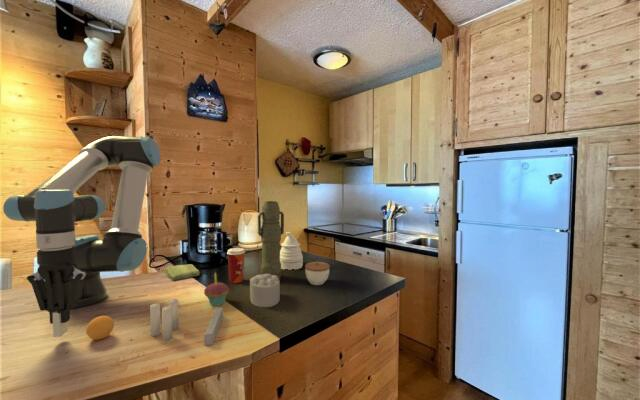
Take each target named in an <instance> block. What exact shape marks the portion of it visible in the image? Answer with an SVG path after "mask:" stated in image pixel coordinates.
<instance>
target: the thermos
mask: <svg viewBox="0 0 640 400" xmlns="http://www.w3.org/2000/svg"><path fill="white" fill-rule="evenodd" d="M261 210H262V211H261V212H259V213H258V215H257V234H258V235H259V237H260V241H261V264H260V274H271V275H276V276H277V277H278V279H279V281H280V280H281V278H282V276H281V274H282V269H281V262H280V250H281V240H282V235H284V234H285V233H284V232H285V213H284V212H283V211H281V209H280V205H279V202H278V201H275V200H273V201H271V200H270V201H267V200H266V201H265V202H263V205H262V209H261Z"/></svg>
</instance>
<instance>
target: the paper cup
mask: <svg viewBox="0 0 640 400" xmlns="http://www.w3.org/2000/svg"><path fill="white" fill-rule="evenodd" d="M245 253H246V251H245V249H244V248H242V247H234V248H229V249H227V252H226V254H227V263H228V266H227V267H228V276H229V277H228V279H229V283H231V284H239V283H240V284H241V283H242V282H243V281H244V270H245V268H244V267H245Z"/></svg>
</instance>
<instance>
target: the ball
mask: <svg viewBox="0 0 640 400" xmlns="http://www.w3.org/2000/svg"><path fill="white" fill-rule="evenodd" d="M114 328H115V322H114V320H113V318H111V317H110V316H108V315H100V316H96V317H95V318H93V319H92V320H90V322H89V323H88V324H87V326H86V332H85V333H86V335H87V337H88V338H89V339H91V340H96V341H97V340H99V341H100V340H103V339H105V338H106V337H108V336H110V334H111V333H112V332H113V330H114Z"/></svg>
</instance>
